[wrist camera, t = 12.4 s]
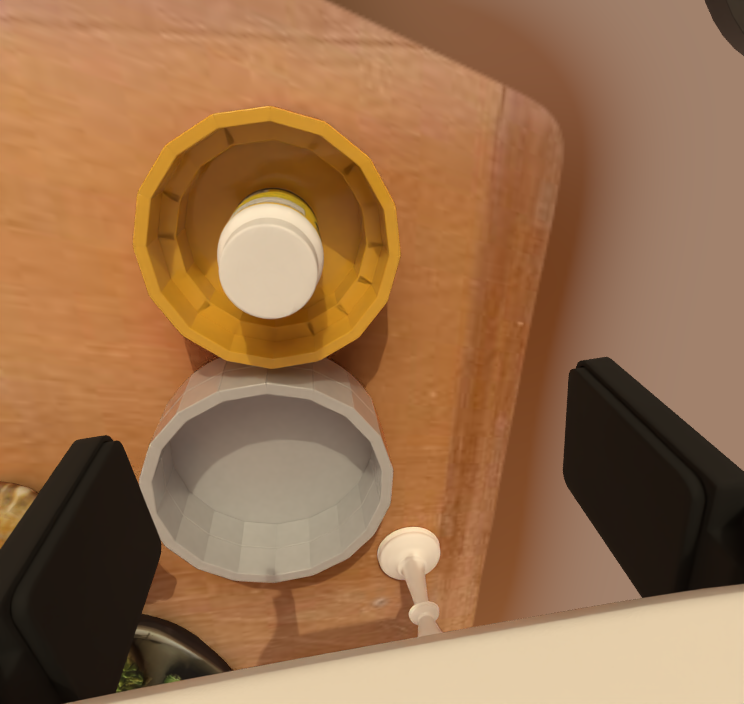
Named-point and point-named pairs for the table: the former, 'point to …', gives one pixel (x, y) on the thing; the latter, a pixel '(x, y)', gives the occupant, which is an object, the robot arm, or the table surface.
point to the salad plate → (166, 656)
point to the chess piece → (413, 571)
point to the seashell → (13, 507)
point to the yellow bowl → (215, 207)
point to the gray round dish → (267, 470)
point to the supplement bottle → (270, 254)
